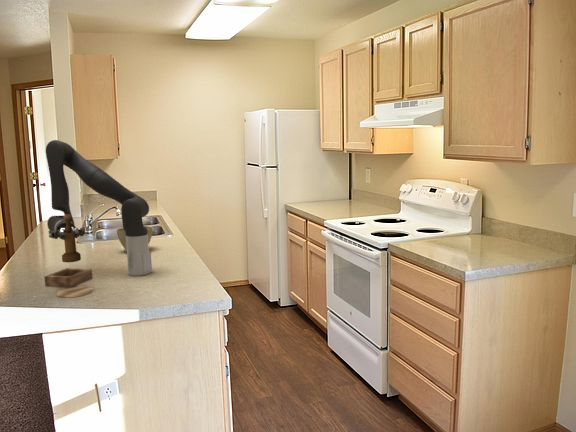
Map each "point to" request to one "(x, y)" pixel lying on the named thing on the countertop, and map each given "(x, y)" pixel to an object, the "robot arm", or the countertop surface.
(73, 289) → the cork trivet
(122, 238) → the flower pot
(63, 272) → the walnut collar
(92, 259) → the countertop surface
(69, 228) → the mortar and pestle
